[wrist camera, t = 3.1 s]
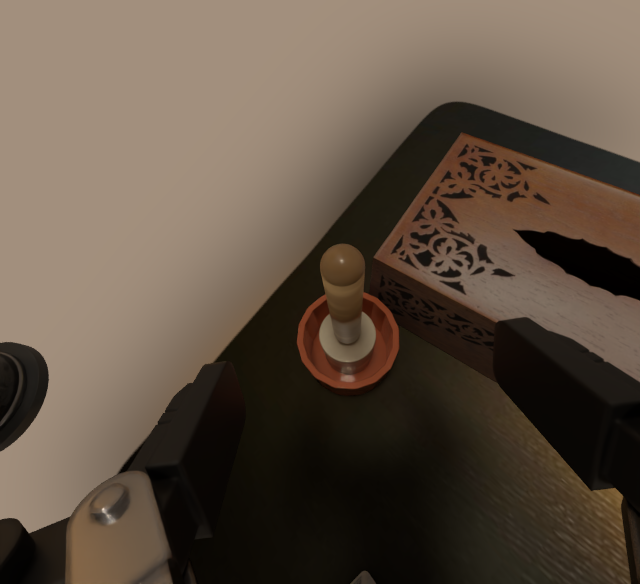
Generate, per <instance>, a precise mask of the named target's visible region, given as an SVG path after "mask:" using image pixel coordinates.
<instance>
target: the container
mask: <svg viewBox="0 0 640 584" xmlns="http://www.w3.org/2000/svg"><path fill="white" fill-rule="evenodd" d="M351 584H376V583H375V582H374V580H373V578H372V577H371V575H370V574H369V573H368V572H367V571H363V572H361V573H360V574H359V575H358V576H357V577H356V578H355V579H354V580H353V581H352V582H351Z"/></svg>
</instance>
